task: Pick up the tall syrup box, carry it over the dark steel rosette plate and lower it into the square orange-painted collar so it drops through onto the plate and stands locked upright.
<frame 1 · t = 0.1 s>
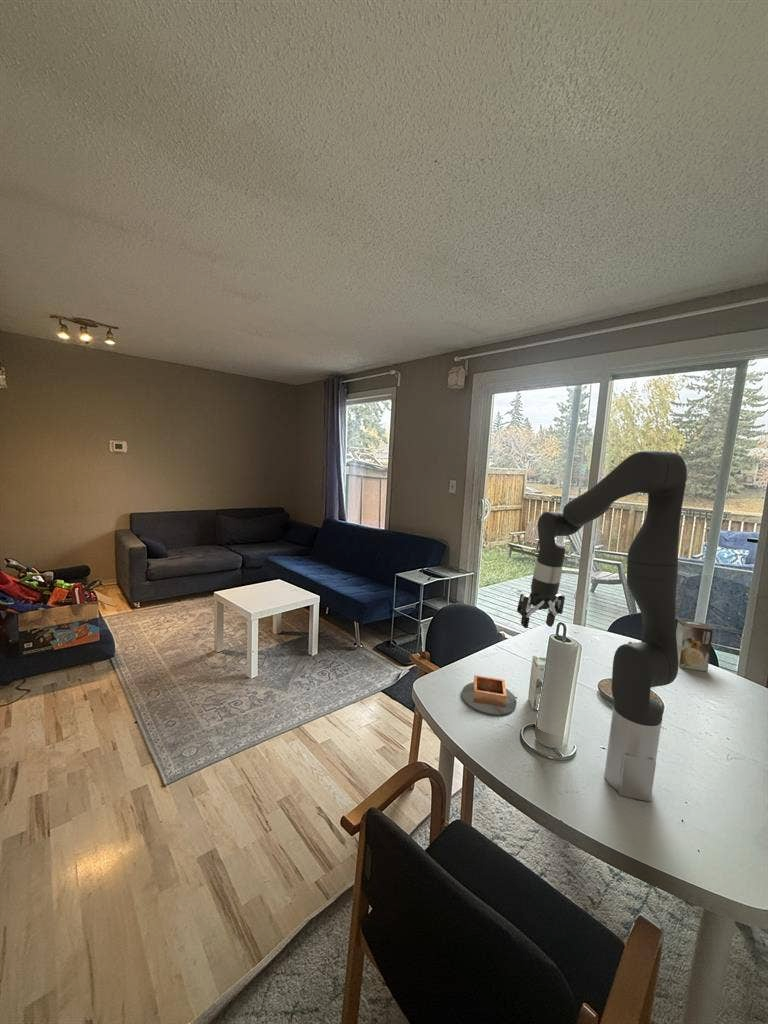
hand: (536, 626, 123), 22 cm above the table, tool pointing down, fingers open, 8 cm apart
coffee box: (689, 666, 151), on the table
syrup box: (540, 706, 121), on the table
rosette socket: (488, 699, 123), on the table
fennel bulb: (633, 676, 141), on the table
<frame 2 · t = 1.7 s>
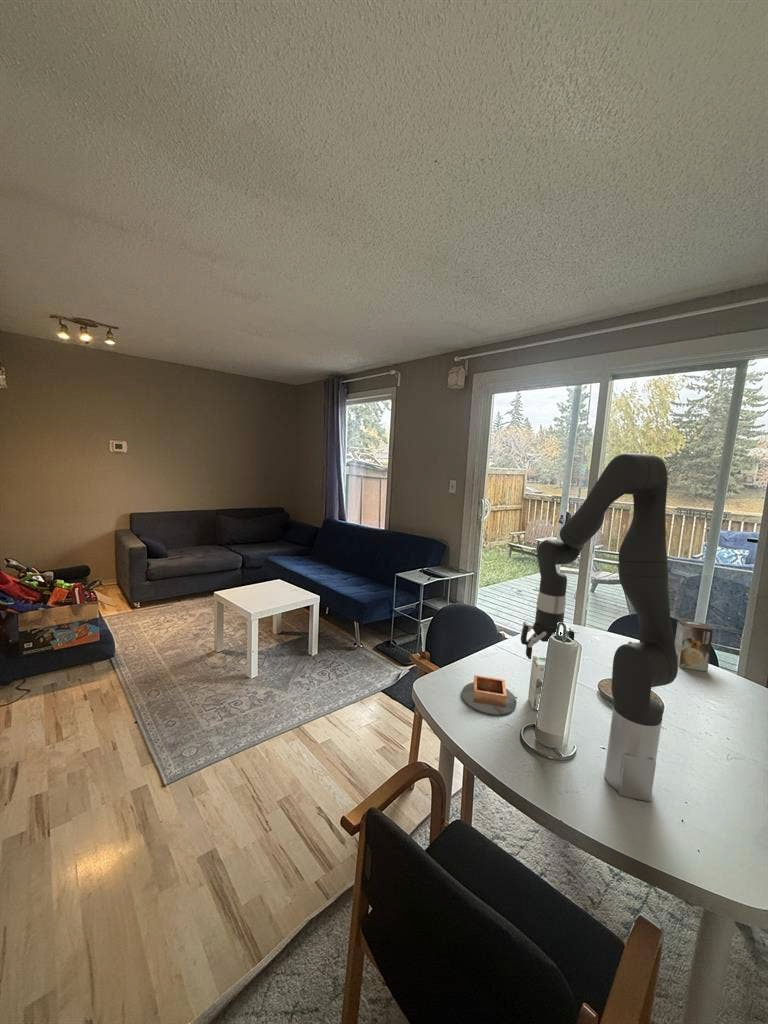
hand: (544, 660, 119), 14 cm above the table, tool pointing down, fingers open, 8 cm apart
nothing on the table moved.
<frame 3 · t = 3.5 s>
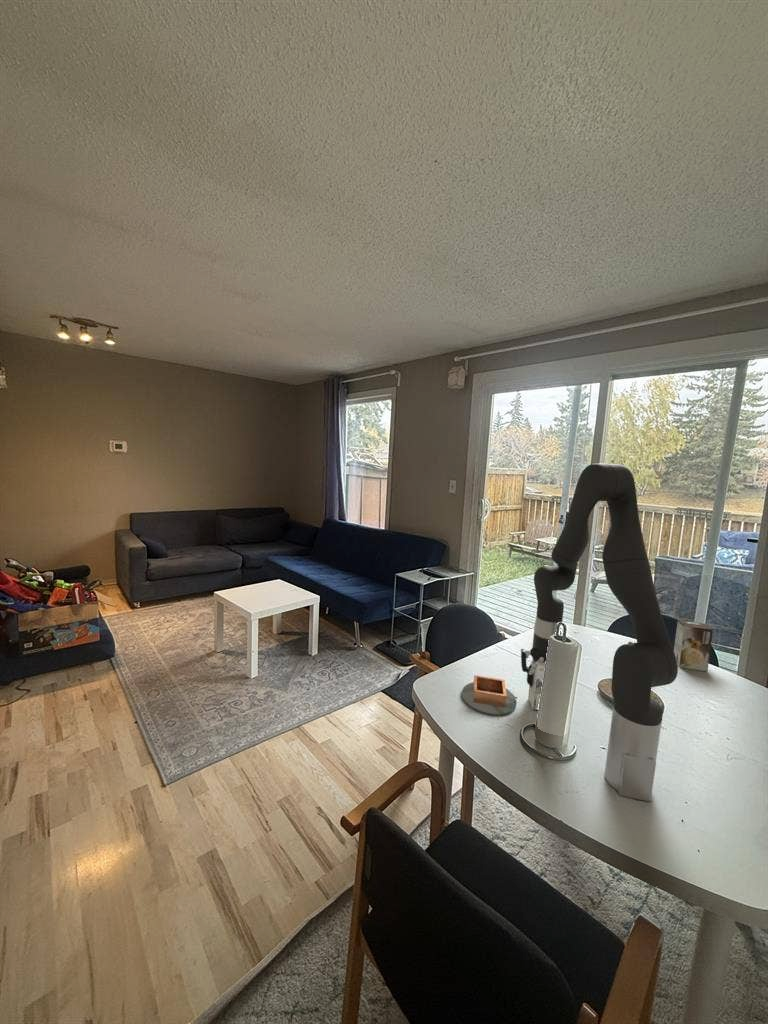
hand: (542, 686, 120), 6 cm above the table, tool pointing down, fingers closed on syrup box, 6 cm apart
syrup box: (540, 706, 121), on the table, touching gripper
everything else where it was.
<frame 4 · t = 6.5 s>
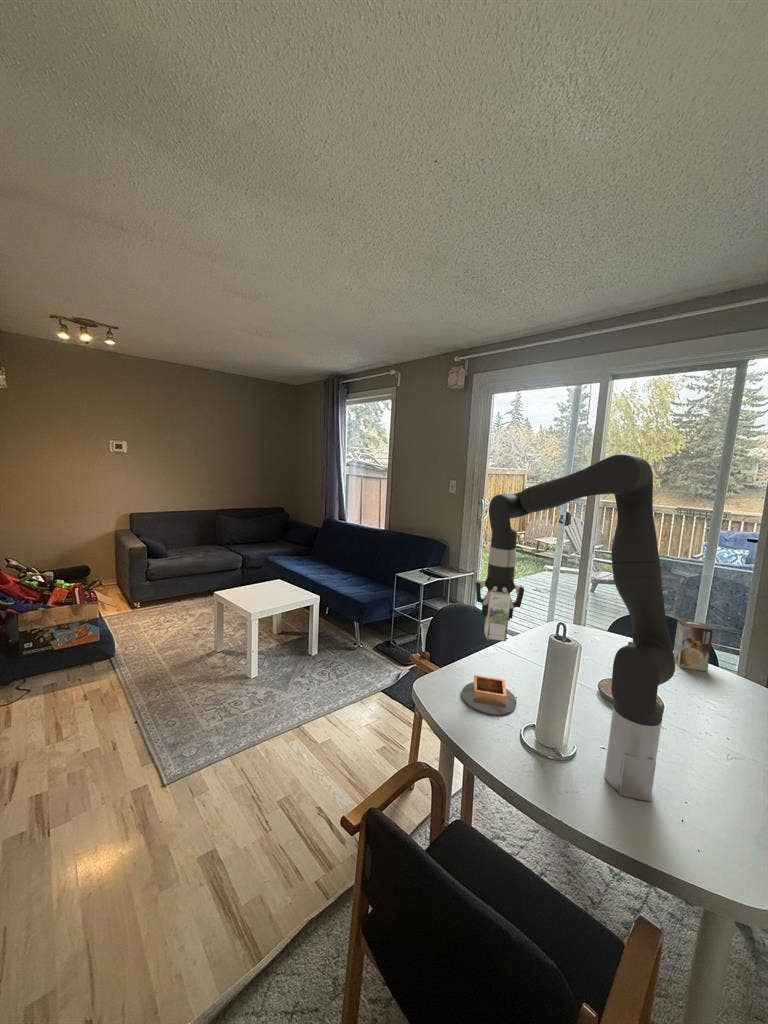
hand: (496, 617, 120), 26 cm above the table, tool pointing down, fingers closed on syrup box, 6 cm apart
syrup box: (494, 637, 121), point 19 cm above the table, touching gripper
everything else where it was.
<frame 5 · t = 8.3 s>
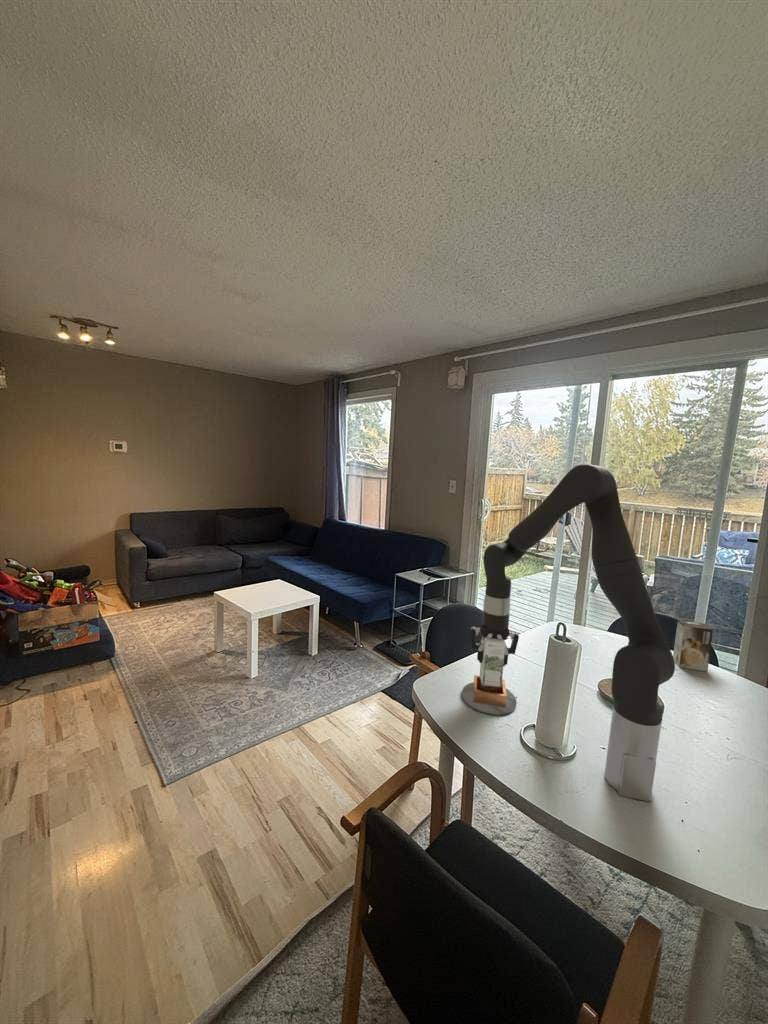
hand: (491, 663, 121), 12 cm above the table, tool pointing down, fingers closed on syrup box, 6 cm apart
syrup box: (490, 682, 122), point 5 cm above the table, touching gripper
everything else where it was.
when the fingers open (8 cm above the table, at t = 9.9 s): syrup box drops 1 cm, resting on rosette socket.
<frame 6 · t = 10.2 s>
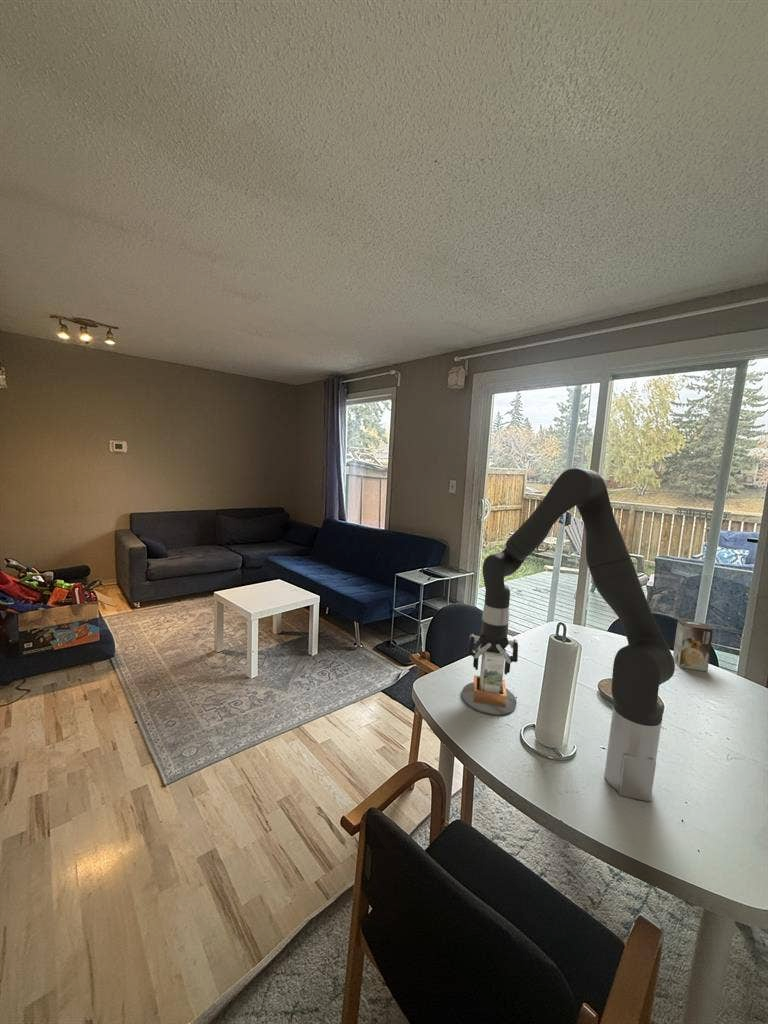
hand: (490, 671, 122), 9 cm above the table, tool pointing down, fingers open, 8 cm apart
syrup box: (489, 696, 123), point 1 cm above the table, touching rosette socket
everything else where it was.
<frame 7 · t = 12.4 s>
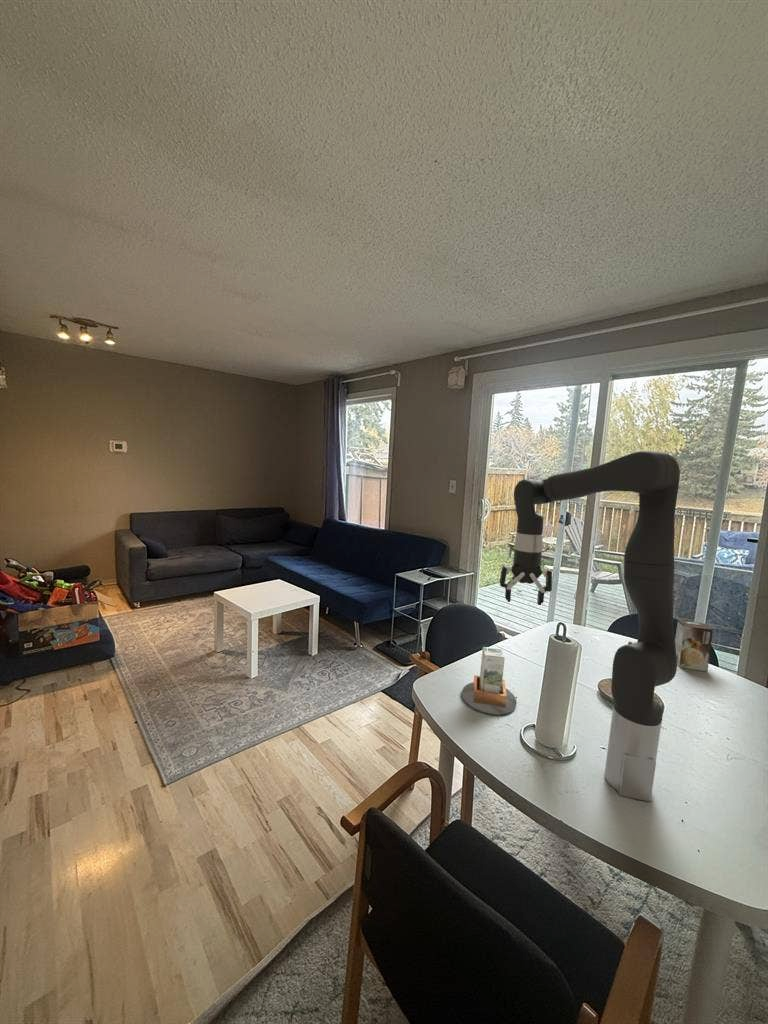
hand: (523, 602, 119), 31 cm above the table, tool pointing down, fingers open, 8 cm apart
nothing on the table moved.
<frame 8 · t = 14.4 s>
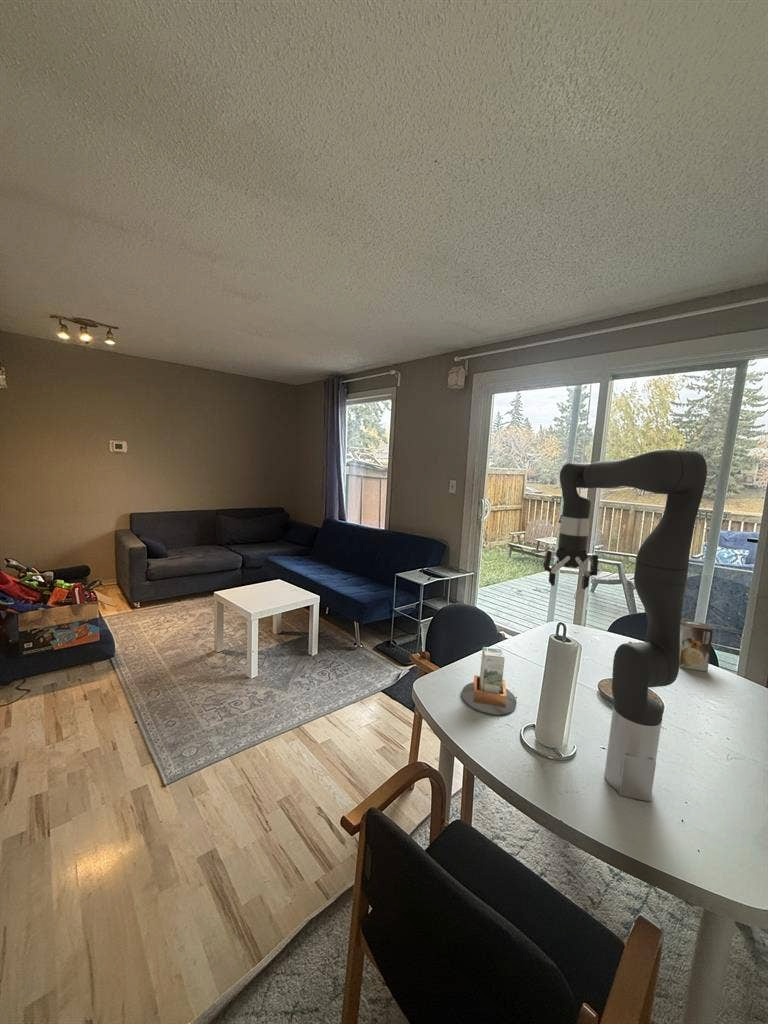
hand: (567, 586, 119), 36 cm above the table, tool pointing down, fingers open, 8 cm apart
nothing on the table moved.
at the end: syrup box 0.2 cm off-centre on the rosette socket, point 0.8 cm above the rosette socket's base; syrup box tilted 0°; the gripper is holding nothing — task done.
